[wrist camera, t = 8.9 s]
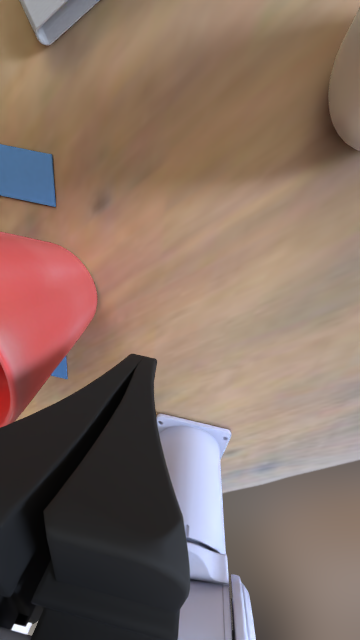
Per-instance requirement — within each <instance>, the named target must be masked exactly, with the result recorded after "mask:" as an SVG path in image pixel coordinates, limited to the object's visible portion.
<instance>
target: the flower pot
mask: <svg viewBox="0 0 360 640" xmlns="http://www.w3.org/2000/svg"><path fill="white" fill-rule="evenodd" d="M96 307H97V292H96V287H95V284H94V281H93V279H92V277H91V275H90V273H89V272H88V270H87V269H86V267H85V266H84V265H83V263H82V262H81V261H80V260H79V259H78V258H77V257H76V256H75V255H74V254H72V253H71V252H70V251H68V250H67V249H65V248H63V247H61V246H59V245H56V244H53V243H51V242H46V241H41V240H36V239H32V238H28V237H23V236H18V235H13V234H9V233H4V232H0V428H1V427H3V426H6V425H8V424H11V423H13V422H15V420H16V419H17V418H18V417H19V415H20V414H21V413H22V412H23V410H24V409H25V408H26V407H27V405H28V404H29V403H30V402H31V400H32V399H33V398H34V396H35V395H36V394H37V392H38V391H39V390H40V389H41V387H42V386H43V385H44V383H45V382H46V381H47V379H48V378H49V377H50V375H51V374H52V373H53V371H54V370H55V369H56V368H57V366H58V365H59V364H60V362H61V361H62V360H63V359H64V357H65V356H66V355H67V353H68V352H69V351H70V350H71V348H72V347H73V346H74V344H75V343H76V342H77V340H78V339H79V337H80V336H81V335H82V333H83V332H84V330H85V329H86V328H87V326H88V325H89V323H90V322H91V320H92V319H93V317H94V314H95V312H96Z"/></svg>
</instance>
